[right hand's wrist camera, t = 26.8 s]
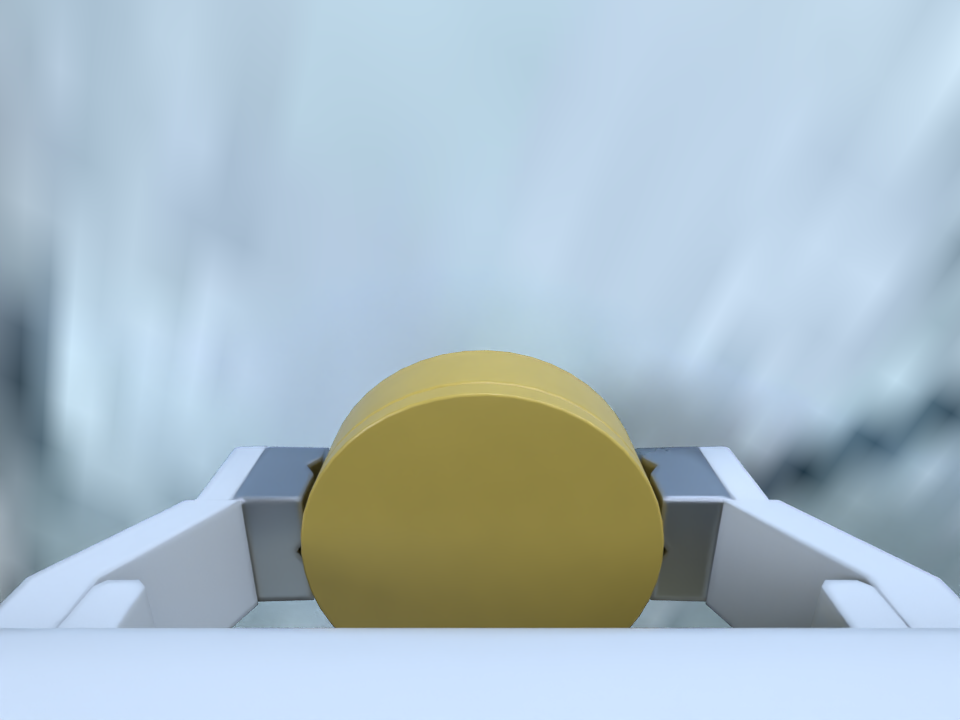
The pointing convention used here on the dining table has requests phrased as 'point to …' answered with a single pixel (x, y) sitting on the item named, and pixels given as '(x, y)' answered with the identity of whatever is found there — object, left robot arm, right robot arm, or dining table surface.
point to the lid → (482, 503)
